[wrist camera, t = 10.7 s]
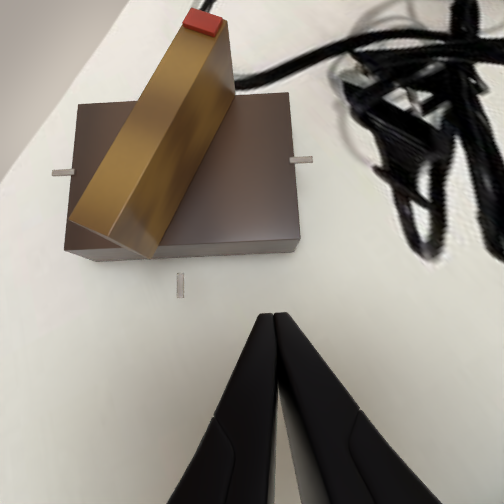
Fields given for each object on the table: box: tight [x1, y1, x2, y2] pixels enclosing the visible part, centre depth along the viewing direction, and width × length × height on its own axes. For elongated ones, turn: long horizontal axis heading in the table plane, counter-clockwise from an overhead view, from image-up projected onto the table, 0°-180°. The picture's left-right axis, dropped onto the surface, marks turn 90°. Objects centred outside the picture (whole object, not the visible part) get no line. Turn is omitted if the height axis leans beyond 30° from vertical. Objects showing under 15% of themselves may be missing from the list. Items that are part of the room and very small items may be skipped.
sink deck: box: [52, 92, 313, 298], centre depth 20 cm, size 16×16×4 cm
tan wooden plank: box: [69, 8, 235, 259], centre depth 16 cm, size 12×2×5 cm, turn 156°
